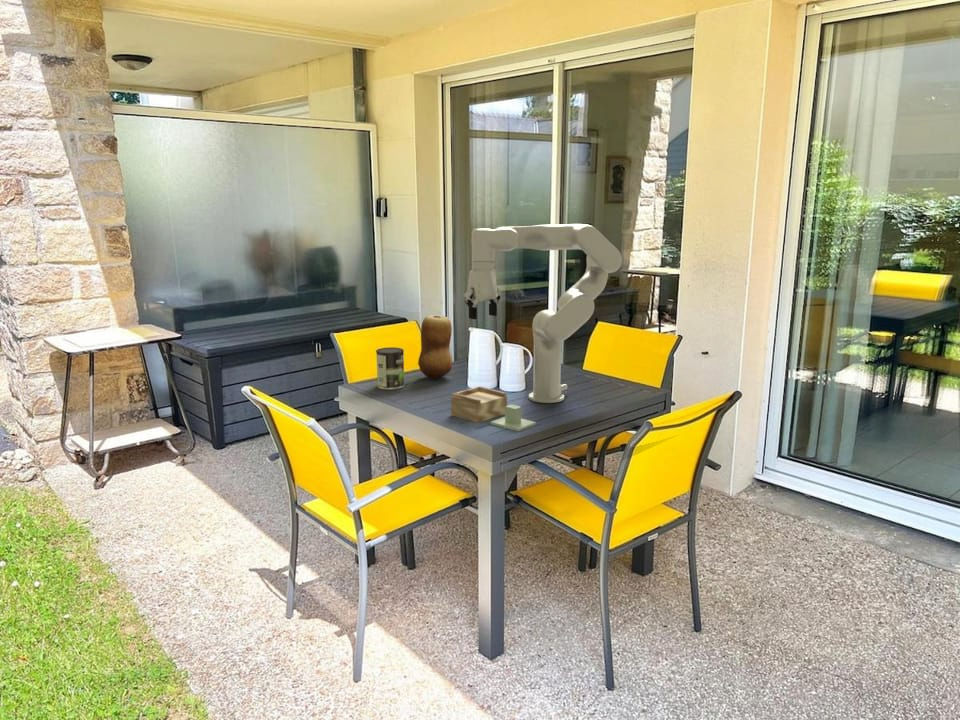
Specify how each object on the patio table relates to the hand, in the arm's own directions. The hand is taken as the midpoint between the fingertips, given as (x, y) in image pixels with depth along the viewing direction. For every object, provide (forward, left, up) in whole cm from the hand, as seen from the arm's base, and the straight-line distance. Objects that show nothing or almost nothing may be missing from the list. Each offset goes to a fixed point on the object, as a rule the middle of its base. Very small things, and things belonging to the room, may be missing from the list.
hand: (483, 317), depth 238 cm
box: (+10, +8, -30) cm, 33 cm away
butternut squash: (-12, -38, -31) cm, 50 cm away
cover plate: (+10, +23, -31) cm, 40 cm away
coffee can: (+8, -41, -31) cm, 52 cm away
